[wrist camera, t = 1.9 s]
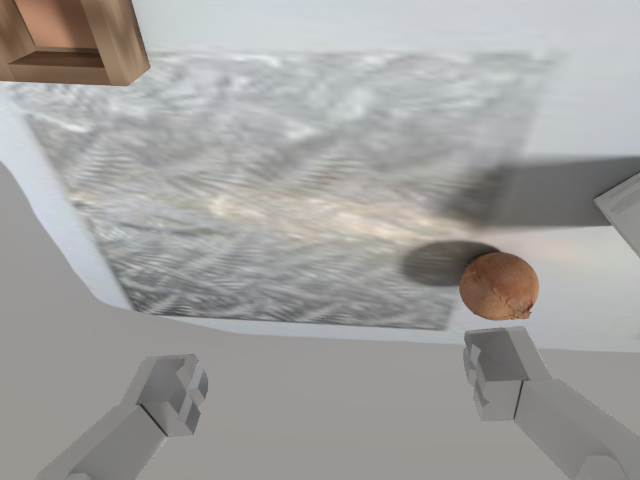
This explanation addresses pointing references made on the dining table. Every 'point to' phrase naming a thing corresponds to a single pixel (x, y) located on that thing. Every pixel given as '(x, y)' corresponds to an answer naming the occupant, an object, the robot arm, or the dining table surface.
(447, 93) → the dining table surface
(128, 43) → the two-well holder
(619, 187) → the skincare box
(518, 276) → the onion
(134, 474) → the robot arm
